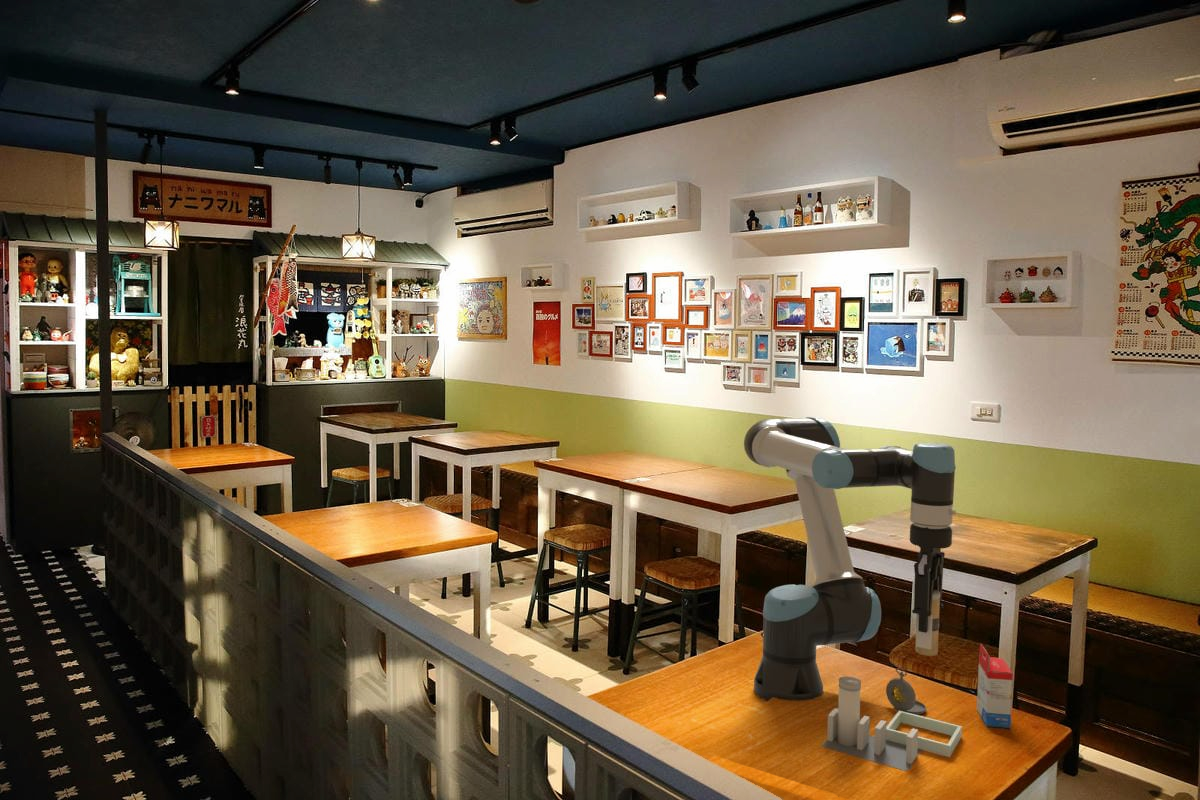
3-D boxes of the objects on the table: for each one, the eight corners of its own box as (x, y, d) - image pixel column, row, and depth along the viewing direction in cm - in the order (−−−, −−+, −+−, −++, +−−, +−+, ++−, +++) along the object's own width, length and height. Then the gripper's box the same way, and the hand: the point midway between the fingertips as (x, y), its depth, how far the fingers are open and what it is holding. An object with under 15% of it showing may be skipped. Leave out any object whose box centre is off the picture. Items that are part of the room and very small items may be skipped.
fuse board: (820, 753, 160) (821, 720, 160) (838, 733, 169) (839, 702, 168) (907, 779, 151) (908, 744, 151) (921, 757, 160) (922, 723, 159)
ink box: (1011, 729, 172) (1014, 659, 171) (985, 726, 173) (988, 656, 172) (1000, 711, 180) (1003, 644, 179) (975, 709, 181) (978, 642, 180)
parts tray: (884, 746, 164) (884, 728, 163) (898, 727, 172) (899, 710, 171) (949, 764, 157) (950, 746, 156) (961, 744, 165) (961, 726, 165)
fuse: (833, 742, 162) (835, 681, 161) (841, 734, 165) (842, 674, 164) (855, 748, 160) (857, 686, 159) (861, 740, 163) (863, 679, 162)
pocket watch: (925, 705, 182) (927, 660, 182) (927, 722, 174) (928, 675, 174) (885, 700, 185) (887, 655, 184) (885, 716, 177) (887, 669, 176)
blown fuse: (912, 652, 162) (915, 591, 161) (918, 646, 166) (920, 586, 165) (935, 657, 160) (937, 595, 159) (940, 651, 163) (942, 590, 162)
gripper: (940, 535, 152) (936, 661, 154) (961, 519, 166) (957, 635, 168) (898, 529, 156) (894, 652, 158) (922, 514, 170) (918, 627, 172)
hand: (926, 643), depth 163 cm, fingers closed on blown fuse, 4 cm apart
